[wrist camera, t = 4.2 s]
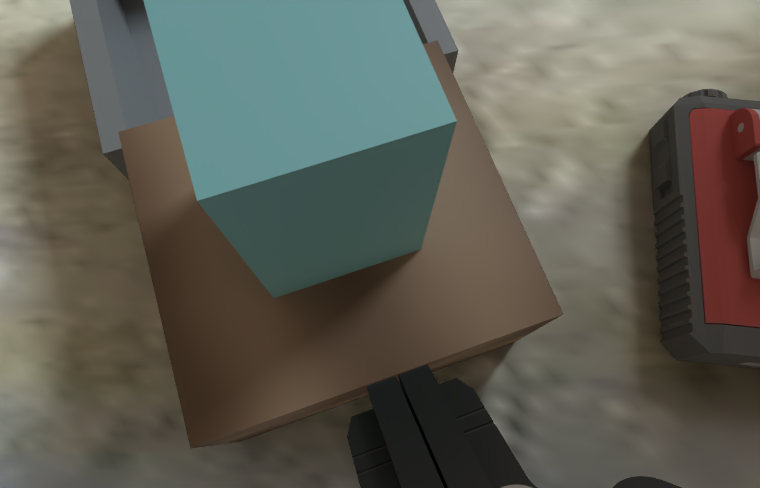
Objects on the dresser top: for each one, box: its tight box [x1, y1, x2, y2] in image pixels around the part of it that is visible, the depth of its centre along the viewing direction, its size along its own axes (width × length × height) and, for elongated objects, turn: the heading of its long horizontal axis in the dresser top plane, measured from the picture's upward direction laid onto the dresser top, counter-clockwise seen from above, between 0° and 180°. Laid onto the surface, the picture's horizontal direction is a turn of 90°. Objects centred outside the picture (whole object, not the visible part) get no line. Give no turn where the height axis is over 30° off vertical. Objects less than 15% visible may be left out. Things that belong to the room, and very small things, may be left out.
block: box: [143, 0, 457, 298], centre depth 15 cm, size 5×5×8 cm
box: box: [70, 0, 458, 179], centre depth 25 cm, size 14×12×5 cm
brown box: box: [118, 40, 563, 448], centre depth 21 cm, size 12×11×6 cm
